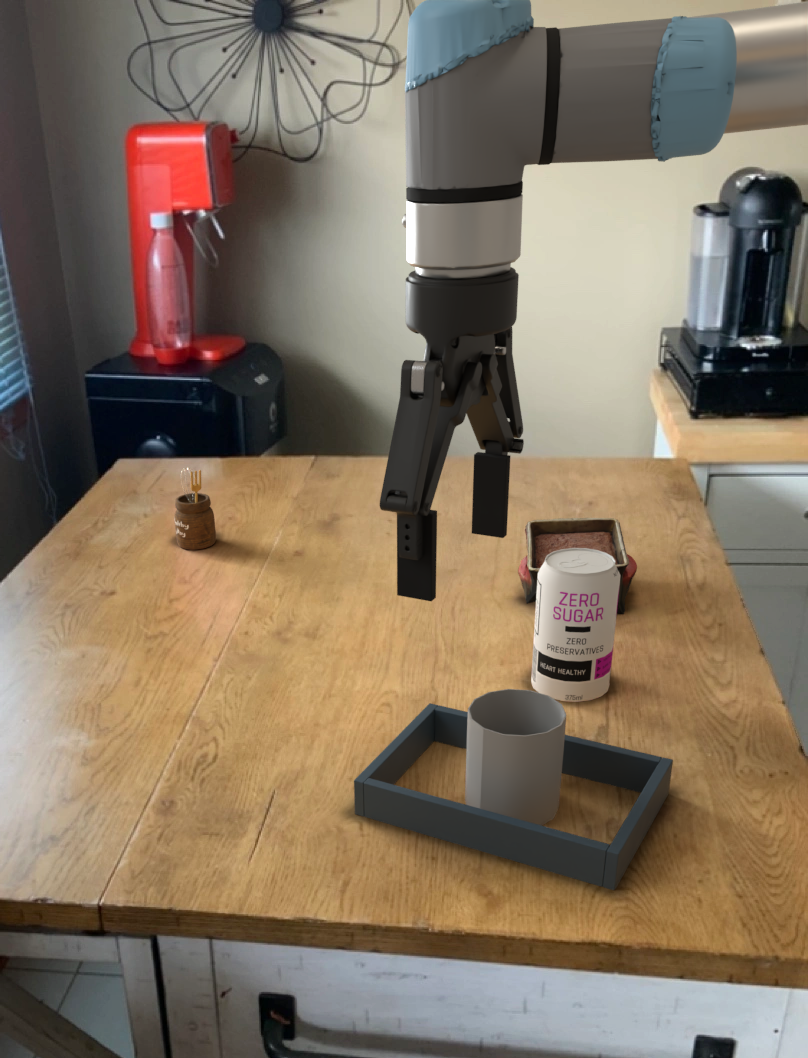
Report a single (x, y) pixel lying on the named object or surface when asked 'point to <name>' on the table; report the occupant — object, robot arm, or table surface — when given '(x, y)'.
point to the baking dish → (574, 535)
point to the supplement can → (575, 624)
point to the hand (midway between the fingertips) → (454, 564)
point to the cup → (515, 754)
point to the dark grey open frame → (507, 833)
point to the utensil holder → (194, 518)
